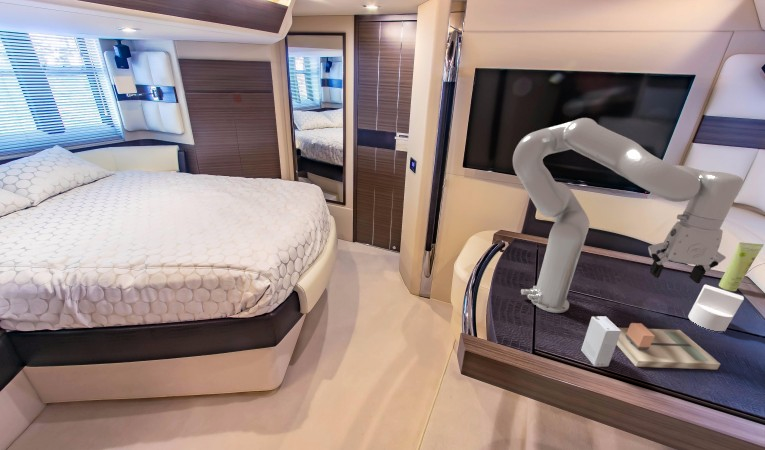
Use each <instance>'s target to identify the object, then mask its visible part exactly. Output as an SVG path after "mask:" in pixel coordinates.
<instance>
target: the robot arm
mask: <svg viewBox="0 0 765 450" xmlns="http://www.w3.org/2000/svg"><path fill="white" fill-rule="evenodd" d="M569 150H573V151H574V152H576V153H578V154H580V155H582V156H584V157H587V158H589V160H592V161H595V162H596V163H598V164H600V165H602V166H604V167H606V168H608V169H610V170H611V171H613V172H614V173H616V174H617V175H619V176H620V177H623V178H625V179H627V180H628V181H629V182H631V183H633V184H634V185H637V186H638V187H640V188H642V189H644V190H645V191H648V192H650V193H652V194H654V195H656V196H658V197H660V198H662V199H664V200H666V201H670V202H673V203H676V202H678V203H679V202H680V203H681V202H686V201H688V203H687V205H686V207H685V209H684V211H683V213H682V214H681V213H680V214H677V216H676V219H677V220H679V221H676V222H675V223H674V225H673V227H672V228H671V229H670V231H669V232H668V234H667V236H666V237H665V239H664V241H663V242H660V243H657V244H656V243H655V244H651V245H648V247H647V249H648V255H649V256H650V258H651V259H652V260H653V262H652V264H651V267H650V268H649V272H650V274H651V275H652V276H653V277H654V278H657V279H658V278H659V277H660V276H661V274H662V271H663V270H664V267H665V266H664V264H665V263H667V262H668V261H670V262H674V263H679V264H686V265H694V266H693V269H692V270H691V272H690V274H689V276H688V277H689V279H690V280H692V281H693V282H694V283H696V284H700V283H701V281H702V279H703V278H704V276H705V274H706V273H707V272H708V271H711V269H713V268H715V267H717V266H718V265H719V264H720V263H722V262H723V261H724V260H725V259H726V257H727V256H725V255H724V254H722V253H721V252H719V249H720V246H721V242H722V240H723V239H722V238H723V233H724V232H723V229H721V227H722V225H723V223H724V221H725V220H726V219H727V215H728V214H729V212H730V210H731V208H732V206H733V204H734V202H735V199H736V198H737V196H738V194H739V192H740V190H741V188H742V186H743V184H744V180H743V178H742V177H741V176H739V175H736V174H733V173H727V172H720V171H708V170H702V169H698V168H693V167H689V166H686V165H679V164H678V165H677V164H676V165H673V164H671V163H669V162H666V161H665V160H663V159H660V158H659V157H657V156H655V155H653V154H651V153H650V152H649V151H647V150H646V149H645V148H644V147H642V146H641V145H640V144H639V143H638V142H636V141H634V140H633V139H630V138H628V137H626V136H623V135H622V134H619V133H616V132H615V131H613V130H610V129H609V128H606V127H604V126H602V125H600V124H598V123H597V122H596V120H594V119H592V118H588V117H581V118H577V119H575V120H572V121H568V122H565V123H561V124H558V125H553V126H550V127H545V128H541V129H539V130H536V131H532V132H530V133H528V134H526V135H525V136H523V138H521V140H520V141H519V142H518V144H517V145H516V147H515V150H514V151H513V155H512V167H513V170H514V172H515V175H516V176H517V178H518V180H519V181H520V183H521V184H522V186H523V188H524V189H525V191H526V193H527V194H528V196H529V198H530V200H531V201H532V203H533V205H534V207H535V209H536V210H537V211H538V213H539V214H540V215H542V216H543V217H546V218H552V220H553V221H554V223H553V225H552V227H551V229H550V232H549V236H548V240H547V244H546V249H545V250H546V251H545V254H544V257H543V261H542V265H541V269H540V272H539V277H538V280H537V283H536V285H533V287H532V288H529V289H528V288H521V290H520V293H521V295H522V296H523V295H526V296H527V299H528V300H529V301H530V300H531V301H530V302H531V303H532V305H534V306H535V305H536V307H537V308H539V309H540V310H542V311H546V312H549V313H554V314H561V313H565V312H567V311H568V310H569V308H570V302H569V301H568V299H567V296H568V294H569V290H570V287H571V284H572V280H573V278H574V274H575V271H576V268H577V265H578V262H579V259H580V256H581V252H582V249H583V247H584V245H585V242H586V239H587V234H588V232H589V228H590V219H589V216H588V215H587V213H586V212H585V210H584V208H583V207H582V205H581V204H580V202H579V200H578V199H577V197H576V196H575V194H574V192H573V191H572V190H571V188H570V187H569V186H568V185H566V184H565V183H562V182H558V181H556V180H555V179H554V178H553V176H552V174H551V171H549V169H548V168H547V167H546V166H545V164H544V161H543V159H544V158H545V157H546V156H548V155H551V154H556V153H561V152H565V151H569ZM658 251H660V252H659V253H658Z"/></svg>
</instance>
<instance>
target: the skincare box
mask: <svg viewBox="0 0 765 450" xmlns="http://www.w3.org/2000/svg"><path fill="white" fill-rule="evenodd" d="M619 328H620V327H617V325H616V324H615V323H613V322H612V321H611V320H610V319H609V317H607V316H606V315H605V316H601V315H600V316H599V315H598V316H591V318H590V321H589V324H588V327H587V330H586V334H585V336H584V339H583V340H584V341H583V343H582V346H581V352H582V353H583V354H584V356H585V357H586V359H587V360H588V361H589V362H590V363H591V364H592V366H593V367H602V368H604V367H609V365H610V363H611V360H612V358H613V354H614V353H615V350H616V347H617V342H618V339H619V336H620V334H621V330H620V329H619Z"/></svg>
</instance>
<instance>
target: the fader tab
mask: <svg viewBox="0 0 765 450" xmlns="http://www.w3.org/2000/svg"><path fill="white" fill-rule="evenodd" d="M628 328H629V329H628V331H627V333H626V337H627V338H628V339H629V340H630V341H631V342H632V344H633V345H634V346H635V347H636V348H637V349H649V347H650V345H651V343H652V341H653V339H654V337H655V336H654V335H653V334H652V333H651V332H650V331H649V330H648V329H649V328H648V327H646V326H645V325H644V324H643V323H641V322H640V323H639V322H637V323H636V322H631V323H630V324H629V327H628Z"/></svg>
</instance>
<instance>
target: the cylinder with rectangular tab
mask: <svg viewBox="0 0 765 450" xmlns="http://www.w3.org/2000/svg"><path fill="white" fill-rule="evenodd" d="M744 298H745V297H744V296H743V295H740V294H738V293H734V292H732V291H728V290H725V289H723V288H720V287H715V286H712V285H708V284H704V285H703V286H702V288H701V291H700V293H699V294H698V296H697V298H696V300H695V302H694V303H693V305H692V308H691V310H690V311H689V313H688V315H687V317H688V319H689V320H690V321H691V322H692V323H693V322H694V324H695V323H696V324H697V325H696V324H695V325H696V326H698V325H699V326H698V327H700V326H701V328H702V327H704V328H706V329H705V330H707V329H710V330H714V331H724V332H726V330H727V328H728V326H729V325H730V324H731V322H732V320H733V319H734V316H735V315H736V313H737V312H738V310H739V308H740V306H741V305H742V303H743V302H744V300H745V299H744ZM704 328H703V329H704ZM710 330H709V331H710ZM714 331H713V332H714Z"/></svg>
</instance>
